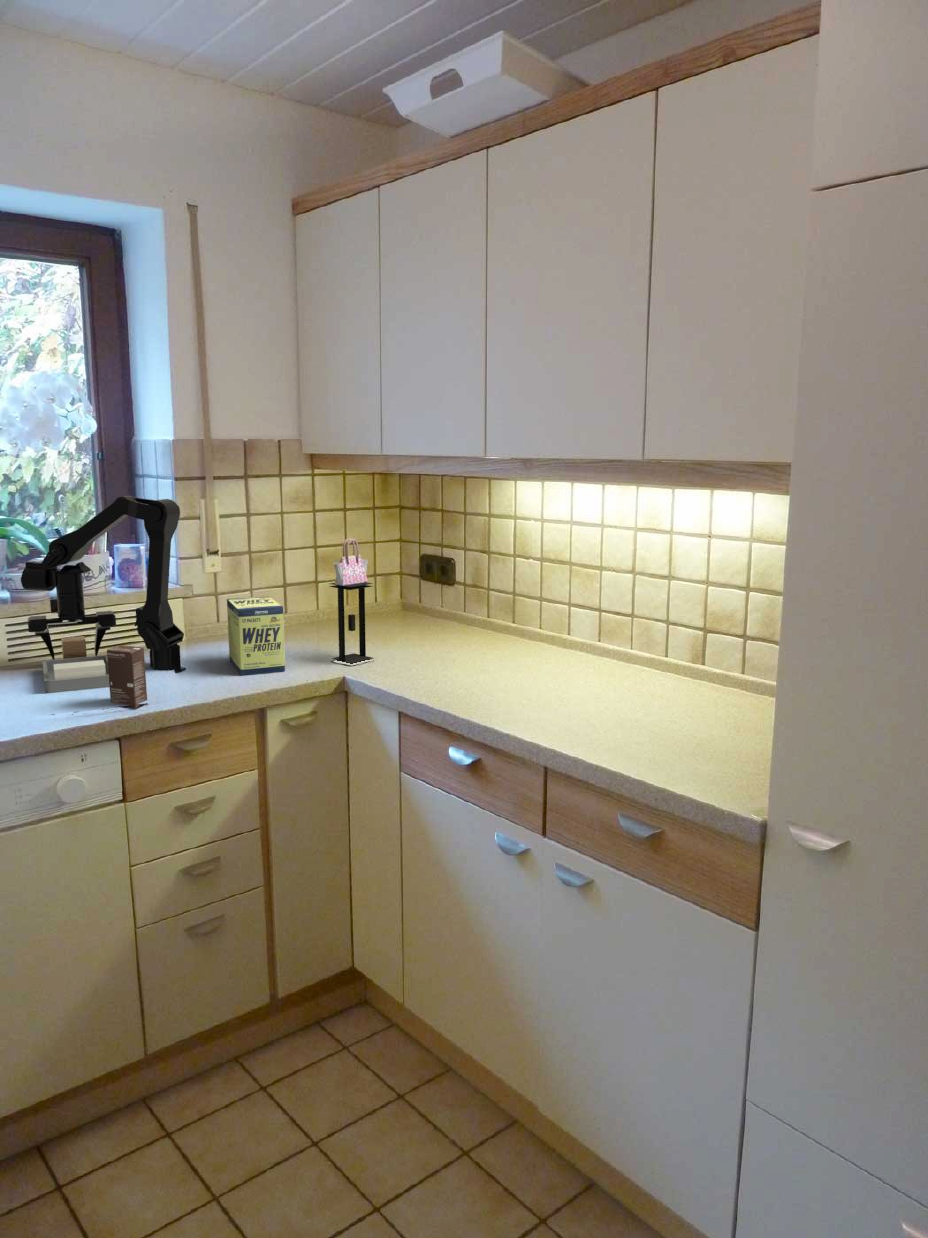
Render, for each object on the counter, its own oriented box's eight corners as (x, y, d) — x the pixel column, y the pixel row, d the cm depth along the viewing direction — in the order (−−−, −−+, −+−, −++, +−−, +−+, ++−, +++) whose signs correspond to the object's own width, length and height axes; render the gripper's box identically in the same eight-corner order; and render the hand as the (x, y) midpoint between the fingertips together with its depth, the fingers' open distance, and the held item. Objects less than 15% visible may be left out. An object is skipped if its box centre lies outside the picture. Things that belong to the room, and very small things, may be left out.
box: (109, 707, 186) (105, 649, 183) (124, 701, 190) (120, 644, 188) (135, 710, 184) (131, 651, 182) (149, 704, 188) (145, 646, 186)
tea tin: (87, 669, 216) (85, 640, 215) (64, 671, 214) (62, 642, 213) (86, 664, 220) (84, 635, 219) (63, 666, 218) (61, 637, 217)
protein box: (241, 676, 210) (238, 609, 207) (228, 661, 224) (225, 598, 221) (286, 672, 215) (284, 606, 212) (271, 657, 229) (269, 595, 226)
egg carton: (106, 685, 198) (105, 664, 197) (55, 690, 194) (54, 669, 193) (104, 679, 203) (103, 659, 202) (55, 684, 199) (53, 664, 198)
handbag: (357, 655, 231) (355, 535, 225) (378, 660, 226) (376, 537, 220) (325, 662, 223) (322, 538, 218) (346, 667, 219) (343, 541, 213)
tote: (117, 690, 198) (116, 674, 197) (46, 698, 192) (44, 681, 191) (109, 669, 216) (108, 654, 215) (43, 675, 210) (42, 660, 209)
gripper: (109, 584, 225) (114, 646, 228) (25, 589, 217) (30, 653, 220) (114, 591, 215) (118, 656, 218) (25, 596, 207) (31, 664, 210)
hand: (75, 657), depth 217 cm, fingers open, 9 cm apart
